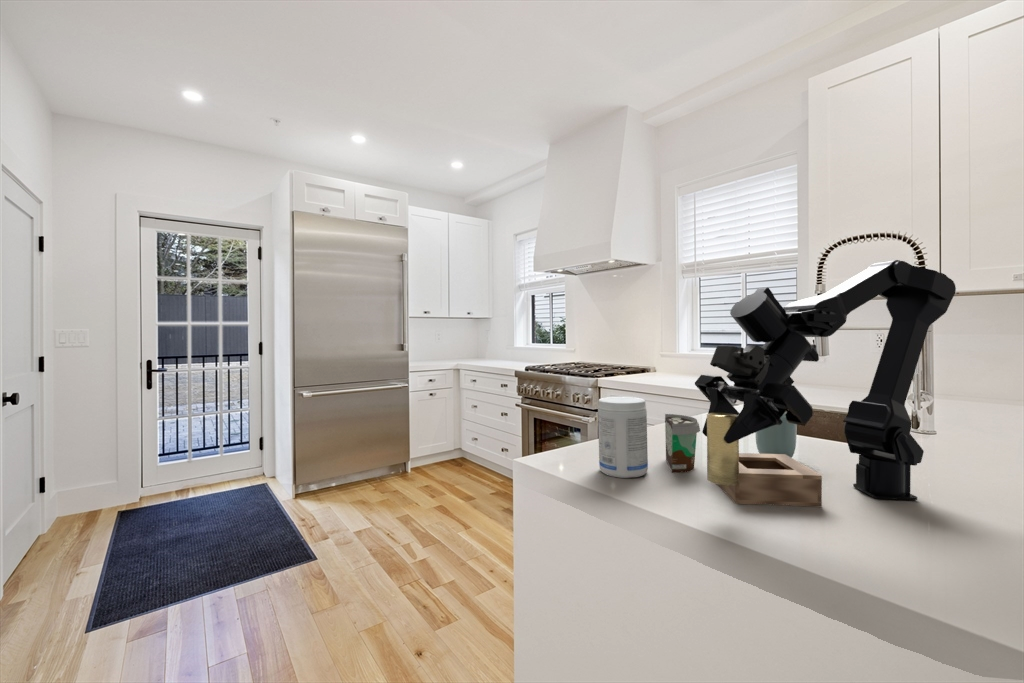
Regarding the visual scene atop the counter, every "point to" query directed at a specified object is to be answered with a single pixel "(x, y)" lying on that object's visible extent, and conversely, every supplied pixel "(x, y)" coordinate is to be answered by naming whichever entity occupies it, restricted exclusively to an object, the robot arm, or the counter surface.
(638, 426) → the supplement tub
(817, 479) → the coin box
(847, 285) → the robot arm
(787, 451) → the cup
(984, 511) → the counter surface
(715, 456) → the brass cylinder
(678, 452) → the food container
